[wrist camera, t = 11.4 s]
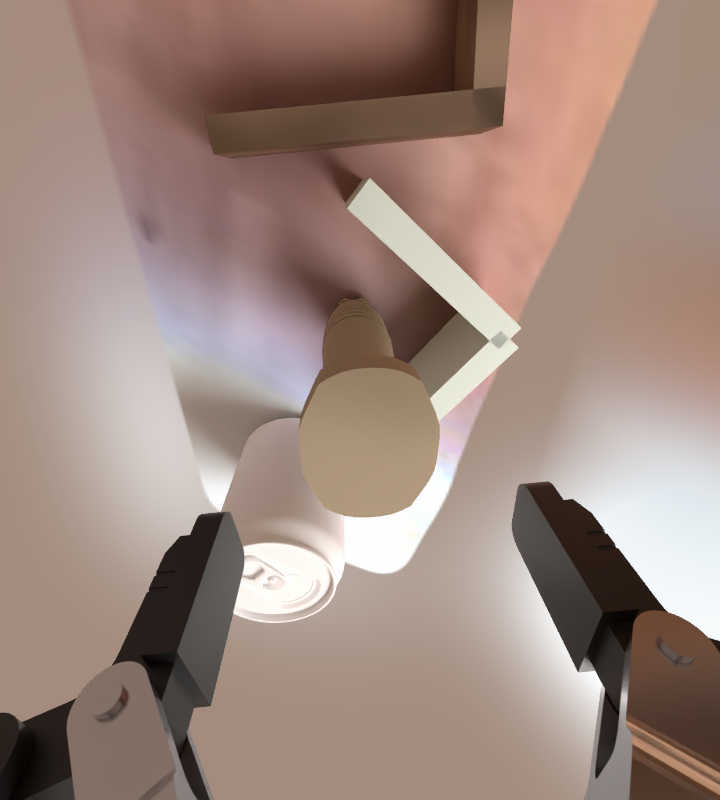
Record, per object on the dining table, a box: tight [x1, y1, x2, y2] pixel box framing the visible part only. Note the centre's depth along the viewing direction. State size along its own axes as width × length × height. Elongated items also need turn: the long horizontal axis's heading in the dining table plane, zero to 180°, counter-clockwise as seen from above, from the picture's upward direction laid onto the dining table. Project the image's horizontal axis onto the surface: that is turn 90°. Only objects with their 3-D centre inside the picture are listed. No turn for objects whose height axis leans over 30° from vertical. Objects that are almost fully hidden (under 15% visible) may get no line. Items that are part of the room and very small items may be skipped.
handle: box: [299, 298, 440, 517], centre depth 20 cm, size 5×6×15 cm
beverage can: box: [221, 418, 345, 623], centre depth 27 cm, size 8×8×12 cm
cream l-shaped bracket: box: [345, 178, 521, 421], centre depth 24 cm, size 17×9×6 cm, turn 5°
